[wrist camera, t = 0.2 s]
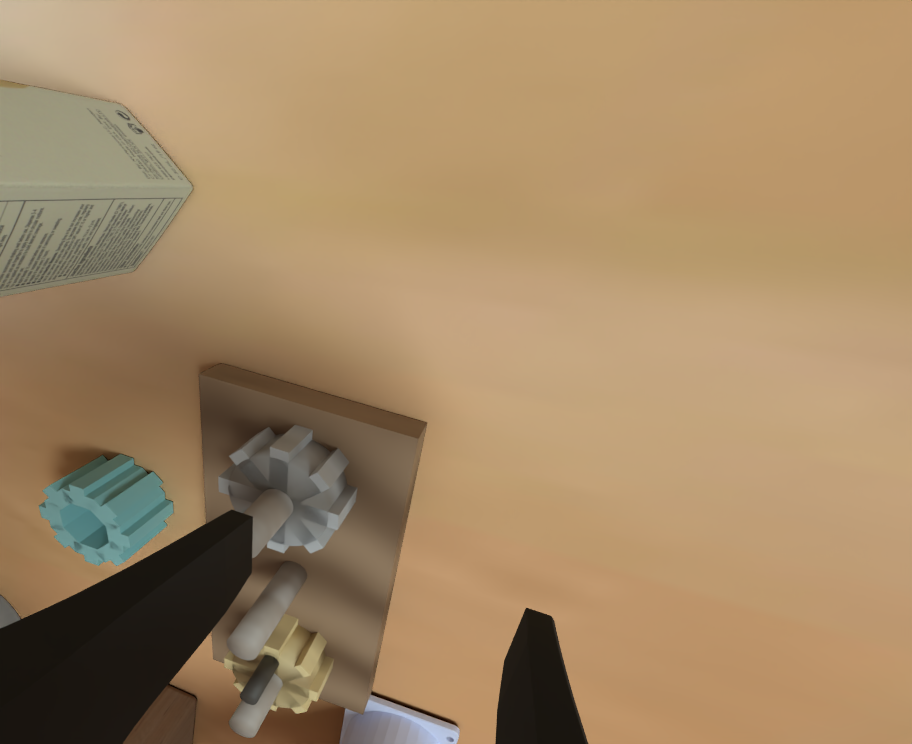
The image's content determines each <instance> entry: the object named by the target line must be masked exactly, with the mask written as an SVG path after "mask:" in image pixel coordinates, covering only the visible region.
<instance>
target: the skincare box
mask: <svg viewBox="0 0 912 744" xmlns="http://www.w3.org/2000/svg"><path fill="white" fill-rule="evenodd" d="M192 189H193V187H192V185H191V183H190V182H189V181H188V180H187V178H186V177H185V176H184V175H183V174H182V172H181V171H180V170H179V169H178V168H177V166H176V165H175V164H174V163H173V162H172V160H171V159H170V158H169V157H168V155H167V154H166V153H165V152H164V151H163V150H162V148H161V147H160V146H159V145H158V144H157V143H156V141H155V140H154V139H153V138H152V137H151V136H150V134H149V133H148V132H147V131H146V130H145V129H144V128H143V127H142V126H141V125H140V123H139V122H138V121H137V120H136V119H135V118H134V117H133V116H132V115H131V114H130V112H129V111H128V110H127V109H126V108H125V107H124V106H123V105H121V104H118V103H113V102H109V101H103V100H98V99H94V98H89V97H84V96H79V95H74V94H69V93H64V92H60V91H55V90H50V89H45V88H40V87H35V86H29V85H24V84H18V83H14V82H9V81H4V80H0V297H2V296H8V295H13V294H18V293H24V292H29V291H35V290H40V289H45V288H50V287H55V286H61V285H66V284H72V283H77V282H83V281H88V280H93V279H98V278H103V277H109V276H114V275H120V274H125V273H130V272H133V271H135V270H136V268H137V267H138V266H139V264H140V263H141V262H142V261H143V259H144V258H145V257H146V256H147V254H148V253H149V252H150V250H151V249H152V247H153V246H154V245H155V243H156V242H157V241H158V239H159V238H160V237H161V235H162V234H163V232H164V231H165V230H166V228H167V227H168V225H169V224H170V222H171V221H172V219H173V218H174V216H175V215H176V214H177V212H178V211H179V209H180V208H181V206H182V204H183V203H184V202H185V200H186V199H187V197H188V196H189V194H190V193H191V191H192Z"/></svg>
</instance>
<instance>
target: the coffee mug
mask: <svg viewBox="0 0 912 744" xmlns="http://www.w3.org/2000/svg"><path fill="white" fill-rule="evenodd" d="M19 620H21V619H20V617H19V615H18V614H17V612H16V611H15V610H14V609H13V607H12V606H11V605H10V604H9V603H8V602H7V601H6V600H5V599H4V598H3V597H2V596H1V595H0V628H2V627H5V626H7V625H9V624H12V623H14V622H16V621H19Z"/></svg>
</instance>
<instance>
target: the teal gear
mask: <svg viewBox="0 0 912 744" xmlns="http://www.w3.org/2000/svg"><path fill="white" fill-rule="evenodd" d="M162 483H163V482H162V481H161V480H160V479H159V478H158V476H157V475H156V474H155V473H154V472H151V473H150V474H148V473H147V472H146V471H145V470H144V469H143V468H142V467H139V466H136V465H134V459H133V458H131V457H128V456H125V455H122V454H119V455H118V456H116V457H114V458H113V459H111V460H109V461H108V460H107V459H106V458H105V457H104V456H103V455H102V456H100V457H99V458H97V459H95V460H93V461H92V462H90V463H88V464H86V465H85V466H83V467H81V468H79V469H78V470H76V471H74V472H72V473H70V474H69V475H67V476H65V477H63V478H62V479H60V480H58V481H56V482H55V483H53V484H51V485H50V486H48V487H47V488H45V489H44V490H43V492H44V493H45V494H46V495H47V496H48V497H49V498H48V499H46V500H45V502H44V503H42V504H41V505H39V509H40V513H41V516H42V518H45V519H47V520H49V521H50V525H51V528H52V529H53V530H54V531H55V532H56V533H57V535H56V536H54V537H55V538H56V539H57V540H58V541H59V542H60V543H61V544H62V545H63V546H64V547H65V548H66V547H67V546H70V547H71V548H72V549H73V550H74V551H75V552H77V553H80V554H83V555H84V557H85V561H87V562H90V563H92V564H95V565H98V566H99V565H100V564H101V563H102V562H105V563H106V562H107V561H109V560H111V561H112V562H113V563H114V564H115V565H116V566H117V565H119V564H121V563H123V562H125V561H126V560H127V559H128V558H130V557H131V556H132V555H133V554H134V553H136V552H137V551H138V550H139V549H140V548H141V547H143V546H144V545H145V544H146V543H147V542H148V541H150V540H151V539H152V538H153V537H154V536H156V535H157V534H158V533H159V532H160V531H161V530H163V529H164V528H165V527H166V526H167V524H166V523H165V522H164V520H165V519H166V518H168V517H169V516H170V515H171V514H172V513H174V512H173V502H172V501H169V500H166V499H165V492H164V491H163V490H162V489H161V488H160V487H159V486H160V485H161V484H162Z"/></svg>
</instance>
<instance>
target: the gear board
mask: <svg viewBox="0 0 912 744" xmlns="http://www.w3.org/2000/svg"><path fill="white" fill-rule="evenodd" d="M199 388H200V408H201V428H202V448H203V468H204V488H205V508H206V523H208V522H210V521H212V520H213V519H215V518H217V517H219V516H220V515H222V514H224V513H226V512H228V511H230V510H235V511H238V512H241V513H244V514H247V515H250V516H253V541H252V573H251V575H250V576H249V578H248V580H247V581H246V583H245V584H244V586H243V587H242V589H241V591H240V592H239V594H238V595H237V597H236V598H235V600H234V601H233V603H232V604H231V606H230V607H229V609H228V610H227V612H226V613H225V614H224V616H223V617H222V618H221V619H220V621H219V622H218V623H217V624H216V626H215V627H214V628H213V629H212V648H213V659H214V660H216V661H219V662H222V663H224V667H225V668H227V669H230V670H233V673H234V675H235V677H236V681H235V682H234V685H235V686H236V687H237V688H238V689H239V690H240V691H241V694H240V698H241V699H242V701H241V703H240V704H239V706H238V707H237V709H236V711H235V712H234V714H233V716H232V717H231V719H230V720H229V726H230V727H231V729H232V730H233V731H234V732H236V733H237V734H239V735H241V736H243V737H247V738H252V737H254V736H255V735H256V733H257V731H258V730H259V728H260V726H261V724H262V722H263V721H264V719H265V717H266V715H267V713H268V711H269V710H270V709H271V710H273V711H276V710H277V708H278V707H281V708H291V709H292V710H293V711H294V712H295V713H296V714H298V713H303V712H307V710H308V708H309V706H310V703H311V701H312V700H313V701H316V702H317V700H318V698H319V699H322V700H324V701H327V702H330V703H332V704H335V705H338V706H340V707H343V708H346V709H348V710H351V711H354V712H357V713H359V714H362V715H363V714H364V711H365V708H366V705H367V703H368V700H369V697H370V694H371V692H372V687H373V682H374V677H375V673H376V668H377V663H378V658H379V653H380V648H381V644H382V639H383V634H384V629H385V624H386V620H387V615H388V610H389V605H390V600H391V595H392V591H393V586H394V581H395V576H396V571H397V566H398V562H399V557H400V552H401V547H402V542H403V537H404V533H405V528H406V523H407V518H408V513H409V508H410V504H411V499H412V494H413V489H414V484H415V479H416V475H417V470H418V465H419V460H420V455H421V451H422V446H423V441H424V436H425V431H426V426H427V423H426V422H422V421H419V420H415V419H412V418H408V417H405V416H401V415H398V414H395V413H391V412H388V411H384V410H381V409H377V408H374V407H370V406H367V405H364V404H360V403H357V402H353V401H350V400H346V399H343V398H339V397H336V396H333V395H329V394H326V393H322V392H319V391H315V390H312V389H308V388H305V387H302V386H298V385H295V384H291V383H288V382H284V381H281V380H277V379H274V378H271V377H267V376H264V375H260V374H257V373H253V372H250V371H246V370H243V369H240V368H236V367H233V366H229V365H226V364H222V363H220V364H218V365H216V366H214V367H212V368H210V369H208V370H206V371H204V372H202V373H200V374H199Z"/></svg>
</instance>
